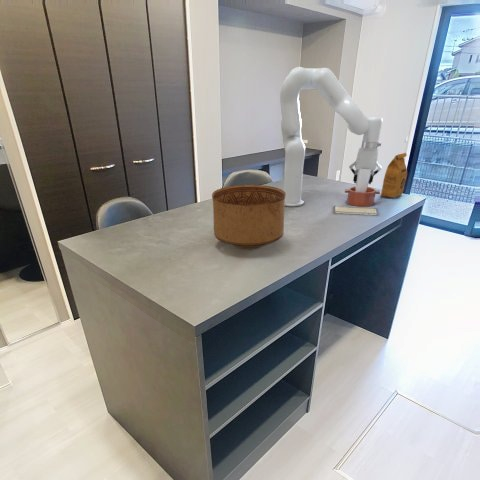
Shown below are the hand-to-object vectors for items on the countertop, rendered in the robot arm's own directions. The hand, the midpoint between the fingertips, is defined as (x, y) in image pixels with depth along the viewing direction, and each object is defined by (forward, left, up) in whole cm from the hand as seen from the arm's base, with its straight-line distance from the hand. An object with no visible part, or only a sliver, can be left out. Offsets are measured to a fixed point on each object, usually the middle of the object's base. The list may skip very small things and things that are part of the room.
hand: (362, 183), depth 183 cm
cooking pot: (+1, 0, -10) cm, 10 cm away
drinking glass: (0, 0, -8) cm, 8 cm away
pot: (-46, -68, -11) cm, 83 cm away
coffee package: (+19, +17, -11) cm, 27 cm away
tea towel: (-2, -14, -10) cm, 18 cm away
